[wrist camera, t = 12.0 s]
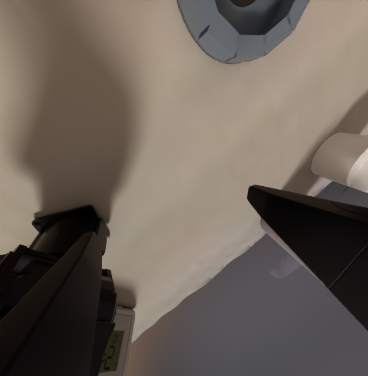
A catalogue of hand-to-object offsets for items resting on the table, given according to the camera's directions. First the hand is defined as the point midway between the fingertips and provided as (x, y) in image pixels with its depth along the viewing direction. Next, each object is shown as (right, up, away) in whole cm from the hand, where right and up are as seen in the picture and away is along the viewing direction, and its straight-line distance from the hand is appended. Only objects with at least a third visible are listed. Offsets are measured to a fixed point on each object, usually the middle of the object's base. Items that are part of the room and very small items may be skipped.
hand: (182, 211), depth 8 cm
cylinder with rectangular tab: (+31, +8, +22) cm, 39 cm away
